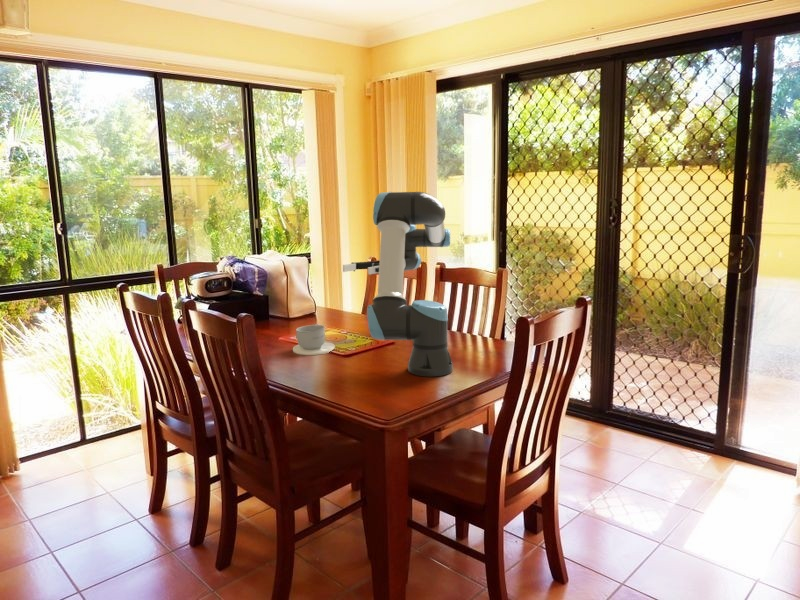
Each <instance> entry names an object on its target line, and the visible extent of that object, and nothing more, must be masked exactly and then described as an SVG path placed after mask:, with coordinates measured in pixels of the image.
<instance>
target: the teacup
mask: <svg viewBox="0 0 800 600" xmlns="http://www.w3.org/2000/svg"><path fill="white" fill-rule="evenodd" d="M325 327H326V326H325V325H323V324H319V323H315V324H309V325H303V326H299V327H297V328H296V329H295V332H296V340H297V343H298V344H299V345H300V346H301V347H302V348H303V349H307V350H311V349H317V348H320V347H321V346H322V345H323V344H324V342H326V330H325ZM298 344H297V345H298Z"/></svg>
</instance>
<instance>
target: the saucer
mask: <svg viewBox="0 0 800 600" xmlns="http://www.w3.org/2000/svg"><path fill="white" fill-rule="evenodd" d="M335 345H336V344H333V343H331V342H328V341H325V342H324V344H323V345H322V346H321V347H320V348H317V349H311V350H307V349H303V348H302V347H301V346H300V345H299V344H296V345H294V346H293V347H292V352H293V353H294V354H296V355H300V356H321V355H326V354H329V352H330V351H332V350H333V349H334V348H335V349H336V346H335ZM332 352H333V351H332ZM330 353H331V352H330Z"/></svg>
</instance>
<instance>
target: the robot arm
mask: <svg viewBox="0 0 800 600" xmlns="http://www.w3.org/2000/svg"><path fill="white" fill-rule="evenodd" d="M372 212H373V213H372V218H373V219H372V220H373V224H374V225H375V226H377V227H376V228H377V231H379V232H380V244H379V245H380V249H379V260H371V261H360V262H351V263H348V264H342V272H343V273H346V272H356V271H357V270H367V275H369V276H370V275H375V274H378V281H377V282H378V283H377V284H378V285H377V287H378V288H377V295H376V296H374V298H372V304H369V305H367V309H366V310H367V311H366V315H367V325H368V330H369V334H370V336H371V338H373V339H374V340H383V341H386V340H387V341H388V340H390V341H391V340H392V341H412V349H411V353H410V355H409V360H408V363H407V371H408V373H410V374H412V375H415V376H420V377H428V378H429V377H432V378H433V377H442V376H445V375H449V374H451V373H452V372H453V370H454V367H453V366H454V365H453V360H452V357H451V354H450V352H449V348H448V345H449V344H448V321H449V318H448V310H447V309H448V308H447V307H446V305H444V304H443V303H441V302H438V301H433V300H428V299H427V300H426V299H418V300H413V301H412V302H411V305H410V304H409V305H408V301H407V299H406V298H405V297H404V276H405V275H404V274H405V272H406V271H413V270H416V269H418V268H419V267H420V265H421V263H422V258H421V255H420V253H418V252H417V249H416V248H446V247H450V245H451V230H450V229H448V228H445V222H444V221H445V218H446V210H445V207H444V205H443V204H442V202H441V201H440V200H439V199H438V198H436V197H435V196H433V195H432V194H429V193H427V192H424V191H388V192H380V193H379V194H377V195H376V197H375V201H374V203H373V210H372ZM416 225H424V228H417V227H416Z"/></svg>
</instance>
